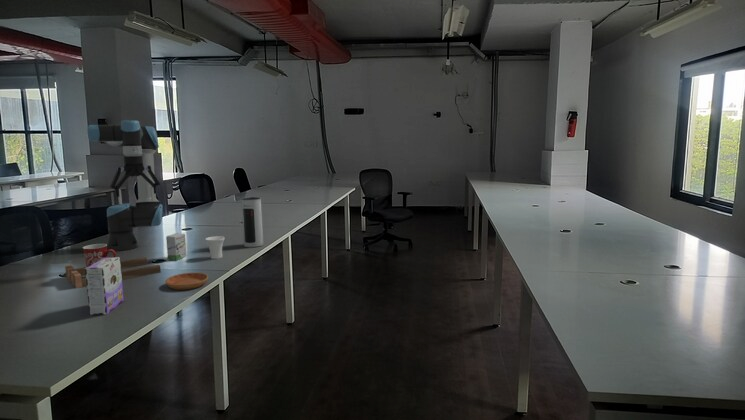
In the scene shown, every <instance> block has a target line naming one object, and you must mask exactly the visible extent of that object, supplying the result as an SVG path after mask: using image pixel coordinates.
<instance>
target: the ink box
mask: <svg viewBox="0 0 745 420" xmlns="http://www.w3.org/2000/svg"><path fill="white" fill-rule="evenodd" d="M165 240H166V250H167V261H174V262H175V261H176V262H178V261H180V260H182V259H184V258H186V257H187V256H188V255H187V243H186V240H187V239H186V234H185V233H179V232H177V233H173V234H172V233H171V234H170V235H167V236H166V238H165Z"/></svg>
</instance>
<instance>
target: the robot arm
mask: <svg viewBox="0 0 745 420" xmlns="http://www.w3.org/2000/svg"><path fill="white" fill-rule="evenodd" d="M86 130H87V138H88V140H89V142H91V143H92V142H94V143H95V142H96V143H98V142H100V143H101V142H102V143H106V144H107V145H109V146H112V147H117V148H122V153H123V155H124V156H123V165H124V166H122V167H121V166H117V167H116V172H115V174H114V176H113V179H112V181H111V183H110V186H109V188H110V189H112V190H114V192H115V197H116V198H118V199H117V200H118V204H115V205H111V206H109V207H107V208H106V218H107V229H108V230H107V231H108V236H107V241H106V243H105V244H107V250H109V249H112V250H114V251H115V252H116V251H117V252H118V251H119V252H120V251H126V250H127V251H128V250H129V251H130V250H132V249H136V248H138V247H139V242H138V239H137V238H136V237H137V236H135V233H134V228H148V227H150V228H151V227H152V228H153V227H158V226H161V224H162V219H163V208H164V207H163V204H161V203H160V200H158V199H157V187H158V186H160V185H161V183H160V181H159V180H158V178H157V177H156V175H155V174H156V173H155V160H154V154H156V152H157V149H159V147H160V145H159V140H158V134H157V131H156V128H154V127H153V126H148V125H147V126H146V125H140V121H139V120H136V119H135V120H132V119H131V120H125V119H124V120H121V122H120V124H89V125H88V127H87V129H86ZM123 171H124V172H125V173H124V174H123V176H122V177H121V179H120V180H119V178H120V176H121V173H122V172H123ZM129 177H133V178H134V177H136V181H137V196H138V199H137V200H136V201H135V205H132V204H131V202H126V203H123V197H122V190H121V189H120V188H121V187H122V185H123V184H124V183H125V182H126V180H127V179H128V178H129ZM117 182H118V183H117Z"/></svg>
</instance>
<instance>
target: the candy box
mask: <svg viewBox="0 0 745 420" xmlns="http://www.w3.org/2000/svg"><path fill="white" fill-rule="evenodd" d="M120 261H121V258H120V256H117V257H114V256H113V257H107V258H103V259H101V260H99V261H98V262H96V263H94V264H92V265H90V266H89V267H87V268H85V273H86V275H85V278H86V283H87V286H86V291H87V292H86V293H87V301H88V311H89V316H95V315H96V316H97V315H98V316H104V315H108V314H110V312H112V311H113V310H114V309H115V308H116V307H118V306H119V305H120V304H121V303H122V302H123V301H125V297H124V288H123V287H124V286H123V279H122V274H121V271H122V269H121V264H120Z"/></svg>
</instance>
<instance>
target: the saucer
mask: <svg viewBox="0 0 745 420" xmlns="http://www.w3.org/2000/svg"><path fill="white" fill-rule="evenodd" d="M208 280H209V276H208V274H206V273H202V272H185V273H178V274H174V275H173V276H170V277H167V278H166V280H165V285H167V286H168V287H169V288H170V289H172V290H176V291H188V290H194V289H198V288H200V287H203V286H204V285H205V284H206V283H207V281H208Z"/></svg>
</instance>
